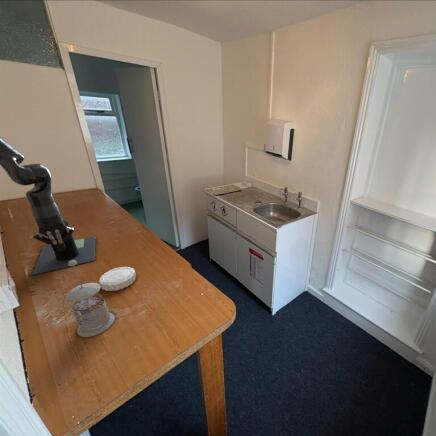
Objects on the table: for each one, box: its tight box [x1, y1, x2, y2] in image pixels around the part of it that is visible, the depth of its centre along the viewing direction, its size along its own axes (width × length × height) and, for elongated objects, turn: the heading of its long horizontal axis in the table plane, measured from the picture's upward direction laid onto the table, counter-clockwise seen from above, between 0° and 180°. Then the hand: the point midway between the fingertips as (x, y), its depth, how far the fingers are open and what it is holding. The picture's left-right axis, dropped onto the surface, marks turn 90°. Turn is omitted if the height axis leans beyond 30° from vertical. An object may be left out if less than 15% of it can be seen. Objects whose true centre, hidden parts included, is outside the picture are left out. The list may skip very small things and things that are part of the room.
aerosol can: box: [47, 219, 79, 260], centre depth 104 cm, size 8×8×20 cm
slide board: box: [32, 236, 96, 276], centre depth 110 cm, size 20×26×1 cm
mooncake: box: [98, 266, 137, 292], centre depth 94 cm, size 12×12×4 cm
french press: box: [61, 260, 116, 338], centre depth 71 cm, size 10×12×25 cm
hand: (61, 250), depth 101 cm, fingers closed
